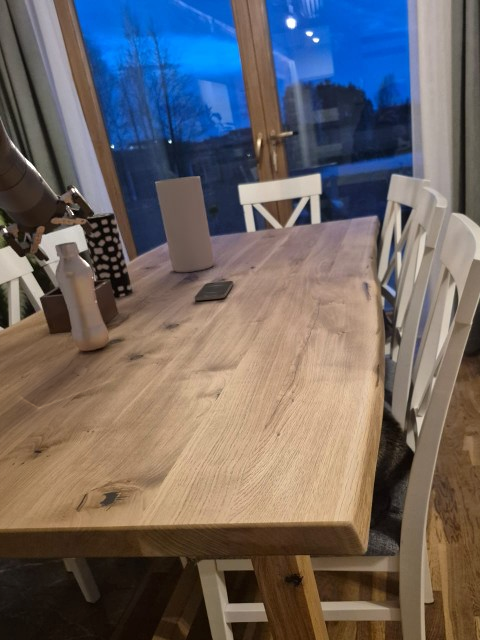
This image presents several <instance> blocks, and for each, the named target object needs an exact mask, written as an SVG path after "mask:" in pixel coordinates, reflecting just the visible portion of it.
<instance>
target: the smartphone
mask: <svg viewBox="0 0 480 640" xmlns="http://www.w3.org/2000/svg"><path fill="white" fill-rule="evenodd" d="M232 287H234V281H233V280H226V281H224V280H223V281H216V282H215V281H214V282H207V283H205V284H203V286H202V287H201V289H200V290H198V292H197V293H196V294H195V296H194V301H205V300H217V299H218V300H219V299H224V298H226V297H227V295H228V294H229V292H230V291H231V289H232Z"/></svg>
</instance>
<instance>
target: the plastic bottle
mask: <svg viewBox="0 0 480 640" xmlns="http://www.w3.org/2000/svg"><path fill="white" fill-rule="evenodd" d="M54 248H55V252H56V257H59V261H58V263H57V265H56V269H55V271H54V274H55V280H56V283H57V284H58V285H57V286H59V287H60V289H61V292H62V294H63V296H64V299H65V302H66V304H67V308H68V311H69V316H70V321H71V327H72V332H71V339H72V342H73V344H74V346H75V347H76V348H77V350H79V351H81V352H89V351H95V350H97V349H98V350H99V349H101V348H104V347H106V346H107V345H108V343H109V341H110V336H109V330H108V328H107V324H106V325H105V323H104V322H103V319H102V316H101V313H100V310H99V307H98V304H97V300H96V294H95V288H94V281H95V279H94V270H93V268H92V266H91V265H90V264H89V263H88V262H87V261H86V260H85V259H84V258H82V257H81V256H80V255H79V254H80V249H79V247H78V243H77V242H76V241H70V242H63V243H58V244H56V245H55V247H54Z"/></svg>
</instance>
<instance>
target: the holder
mask: <svg viewBox="0 0 480 640" xmlns="http://www.w3.org/2000/svg"><path fill="white" fill-rule="evenodd" d="M94 288H95V294H96V300H97V304H98V307H99V310H100V313H101V316H102V319H103V322H104V323H105V325H106V326H107V324H108V323H110V322H111V320H112V319H114V318H115V317H116V316H117V315H118V314H119V310H118V305H117V302H116V298H114V294H113V290H112V286H111V282H110V279H108V280H98V281H96V280H94ZM39 301H40V304H41V308H42V311H43V315H44V317H45V320H46V324H47V327H48V331H49V334H51V335H52V334H60V333H69V332H70V333H72V327H71V321H70V316H69V311H68V308H67V304H66V302H65V299H64V296H63V294H62V292H61V289H60V287H59V285H57V286H55V288H53V289H52V290H49V291H48V292H46V293H44V294H43V295H42V296H39Z"/></svg>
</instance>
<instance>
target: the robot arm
mask: <svg viewBox="0 0 480 640" xmlns="http://www.w3.org/2000/svg"><path fill="white" fill-rule="evenodd" d="M4 125H5V124H4V123H3V120H2V117H1V116H0V208H1V209H2V210H3V211H4V212H5V213H6V214H7V215H8V216H9V218H11V219H12V220H13V222H14V223H13V224H10V225H8V226H6V225H4V224H1V225H0V235H1V236H2V238H3V240H4V242H6V244H7V245H8V246H9V248H11V250H12V251H13V252H15V254H16V255H17V256H18V257H19V258H24V257H26V256H27V254H33V256H34V257H35V258H36V259H37V260H39V261H41V262H42V261H44V262H45V263H47V262H49V261H51V260H50V258H49V256H48V255H47V252H46V251H45V250H44V249H43V248H42V247H41V246H40V245H41V243H42V239H43V235H44V236H45V235H48V234H49V233H51V231H53V230H56V229H58V228H60V227H61V226H62V225H69V226H74V224H76V225H79V226H80V227H81V229H82V231H83V230H84V231H85V232H86V234H87V235H88V236H90V235H92V233H91V231H93V228H92V226H91V225H90V223H89V222H88V220H87V218H88V217H92V216H93V215H95V211H94V210H93V208H92V207H91V205H90V204H89V202H88V201H87V200H86V198H85V197H84V196H83V195H82V194H81V192H80V191H79V190H78V189H77V188H76V186H75V185H74V184H68V185H67V187H66V190H67V192H65V193H63V194H62V195H59V194H57V193H55V192H54V191H53V189H52V188H51V187H50V185H49V184H48V183H47V182H46V180H45V179H44V177H43V176H42V175H41V174H40V173H39V171H38V170H37V169H36V167H35V166H34V165H33V164H32V162H30V161H29V160H28V159H27V158H26V157H25V156H24V155H23V154H22V152H21V151H20V149H19V148H18V146H16V145H15V143H14V142H13V141H12V139H11V138H10V137H9V136H10V135H8V133H7V131H6V128H5V126H4ZM67 204H71V205H74V206H78V207H79V208H76V207H70V206H68V205H67ZM19 232H20V233H23V234H24V238H23V241H21V242H20V241H19V239H18V237H19V234H18V233H19Z"/></svg>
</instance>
